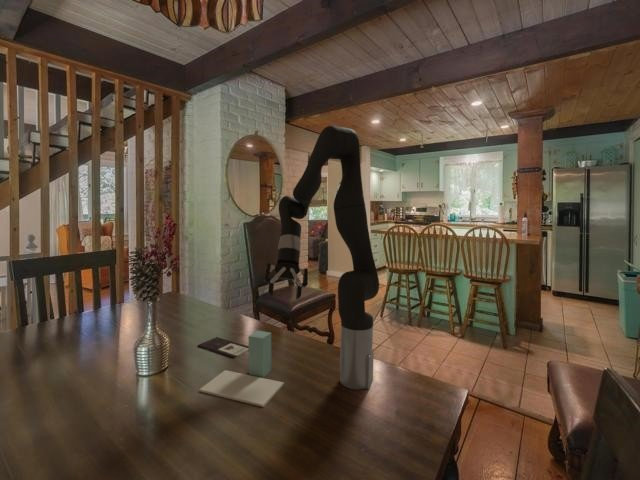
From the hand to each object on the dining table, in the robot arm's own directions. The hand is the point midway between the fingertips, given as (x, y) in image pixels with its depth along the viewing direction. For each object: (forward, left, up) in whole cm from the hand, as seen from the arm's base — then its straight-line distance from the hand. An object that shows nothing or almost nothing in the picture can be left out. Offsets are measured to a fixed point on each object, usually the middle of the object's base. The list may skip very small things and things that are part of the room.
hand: (284, 297), depth 106 cm
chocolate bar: (+25, -3, -23) cm, 34 cm away
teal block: (+4, +8, -22) cm, 24 cm away
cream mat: (+4, +18, -22) cm, 29 cm away
